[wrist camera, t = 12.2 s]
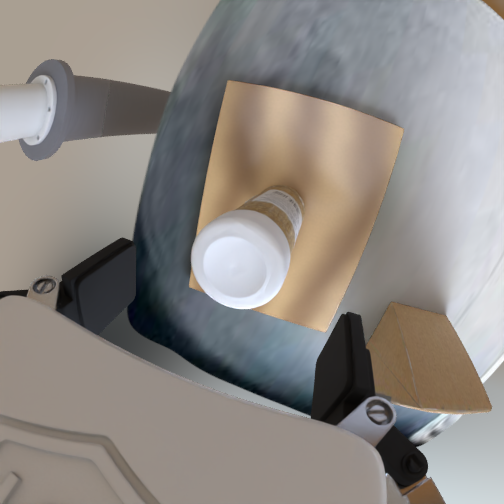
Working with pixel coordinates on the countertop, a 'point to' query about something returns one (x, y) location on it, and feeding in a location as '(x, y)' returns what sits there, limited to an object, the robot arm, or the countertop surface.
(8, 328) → the robot arm
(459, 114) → the countertop surface
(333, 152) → the chopping board
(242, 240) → the sprinkles bottle
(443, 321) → the sandwich container
